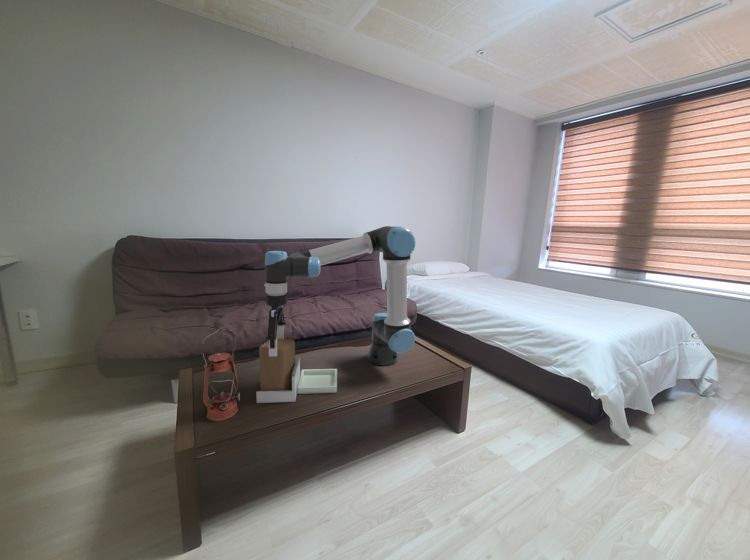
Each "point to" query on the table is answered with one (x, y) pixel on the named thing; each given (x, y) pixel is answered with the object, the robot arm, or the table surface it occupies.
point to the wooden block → (277, 366)
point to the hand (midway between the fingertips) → (276, 348)
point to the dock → (282, 395)
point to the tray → (317, 381)
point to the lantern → (222, 402)
